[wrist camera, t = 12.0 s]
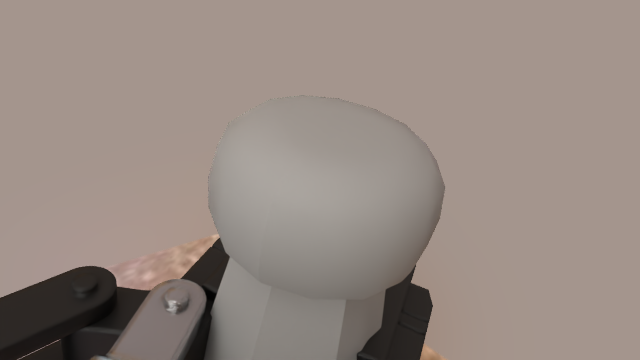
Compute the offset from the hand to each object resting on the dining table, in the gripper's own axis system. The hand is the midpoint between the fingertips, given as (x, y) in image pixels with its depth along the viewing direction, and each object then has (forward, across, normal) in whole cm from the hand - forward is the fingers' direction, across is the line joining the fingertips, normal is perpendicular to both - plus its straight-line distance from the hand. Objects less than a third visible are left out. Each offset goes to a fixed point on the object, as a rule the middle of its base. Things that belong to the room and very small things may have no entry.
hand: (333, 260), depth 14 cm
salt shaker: (-3, 0, +8) cm, 8 cm away
